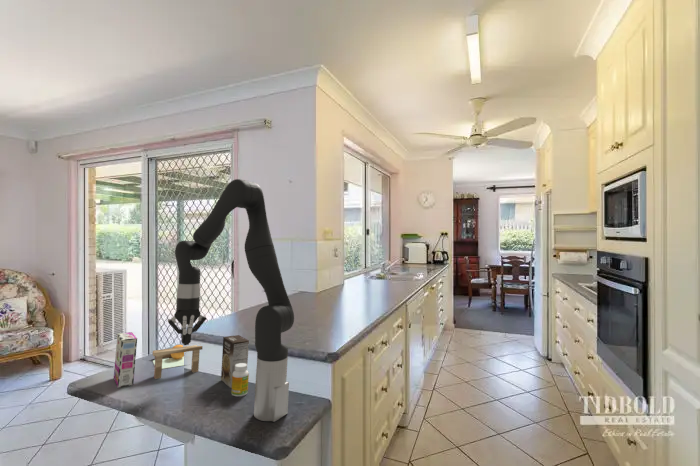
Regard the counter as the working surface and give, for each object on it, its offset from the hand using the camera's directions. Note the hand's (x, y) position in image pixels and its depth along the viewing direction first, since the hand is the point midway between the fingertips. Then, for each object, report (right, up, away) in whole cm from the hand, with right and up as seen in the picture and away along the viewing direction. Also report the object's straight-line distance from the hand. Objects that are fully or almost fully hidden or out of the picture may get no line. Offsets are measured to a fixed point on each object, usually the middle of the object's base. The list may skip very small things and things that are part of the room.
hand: (185, 344), depth 120 cm
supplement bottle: (+21, -15, -5) cm, 26 cm away
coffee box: (+16, -16, +4) cm, 23 cm away
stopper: (-21, -15, +27) cm, 37 cm away
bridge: (-8, -15, +9) cm, 19 cm away
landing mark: (-17, -15, +21) cm, 30 cm away
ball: (-16, -12, +26) cm, 33 cm away
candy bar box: (-23, -14, 0) cm, 27 cm away
